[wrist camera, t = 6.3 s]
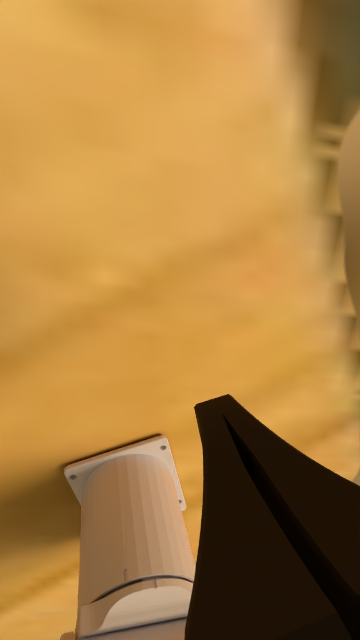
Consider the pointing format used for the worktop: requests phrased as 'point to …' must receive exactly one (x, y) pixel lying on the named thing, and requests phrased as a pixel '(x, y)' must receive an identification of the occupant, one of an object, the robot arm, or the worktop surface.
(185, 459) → the worktop surface
